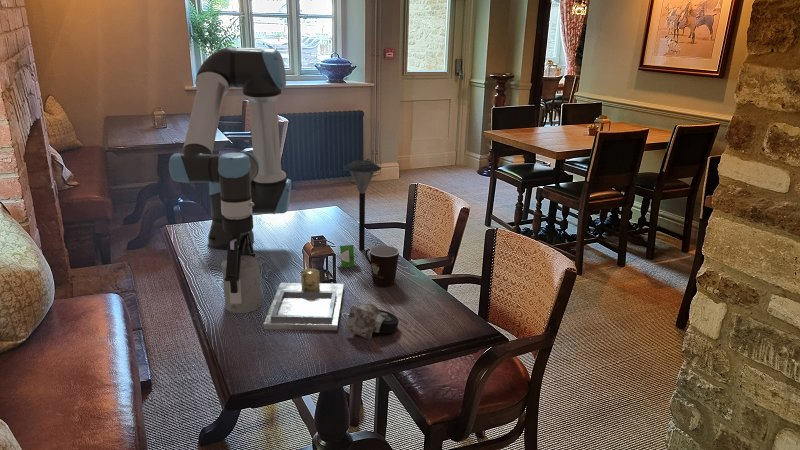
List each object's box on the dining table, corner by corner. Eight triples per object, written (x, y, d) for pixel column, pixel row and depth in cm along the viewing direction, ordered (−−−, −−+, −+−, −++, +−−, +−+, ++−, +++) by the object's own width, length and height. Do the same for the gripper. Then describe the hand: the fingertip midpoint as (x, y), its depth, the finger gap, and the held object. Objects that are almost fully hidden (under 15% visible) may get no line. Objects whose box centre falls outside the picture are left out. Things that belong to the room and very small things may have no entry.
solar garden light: (365, 259, 185) (366, 168, 175) (336, 250, 191) (335, 163, 182) (386, 248, 195) (388, 162, 185) (358, 240, 201) (358, 156, 191)
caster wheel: (397, 333, 146) (387, 347, 136) (356, 318, 148) (344, 331, 138) (404, 309, 144) (395, 322, 135) (363, 294, 146) (351, 306, 137)
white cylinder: (217, 305, 152) (214, 262, 148) (247, 293, 159) (245, 252, 155) (238, 316, 146) (235, 272, 142) (269, 304, 153) (267, 262, 149)
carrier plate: (280, 287, 163) (279, 266, 161) (343, 288, 164) (343, 267, 161) (263, 329, 140) (262, 305, 138) (337, 330, 141) (337, 306, 139)
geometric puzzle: (334, 253, 183) (336, 240, 176) (355, 252, 185) (357, 238, 178) (336, 273, 179) (339, 260, 173) (358, 271, 181) (361, 258, 174)
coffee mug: (402, 286, 166) (403, 254, 163) (374, 290, 163) (374, 257, 160) (389, 271, 176) (390, 241, 173) (362, 274, 173) (363, 243, 170)
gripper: (240, 231, 132) (245, 313, 139) (262, 201, 156) (265, 273, 163) (207, 230, 132) (214, 313, 139) (234, 201, 156) (239, 272, 163)
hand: (242, 291), depth 151 cm, fingers open, 13 cm apart
